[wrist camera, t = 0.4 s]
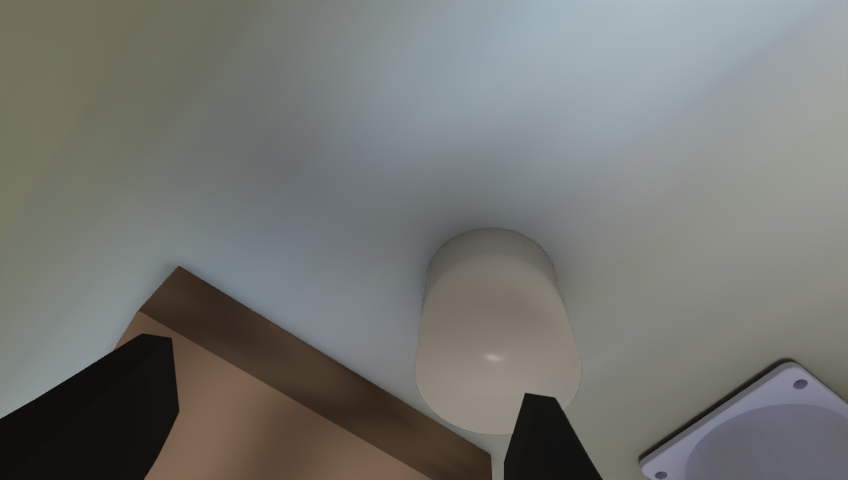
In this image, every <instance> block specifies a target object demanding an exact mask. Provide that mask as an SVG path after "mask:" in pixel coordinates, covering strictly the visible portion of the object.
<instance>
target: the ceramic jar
mask: <svg viewBox="0 0 848 480" xmlns="http://www.w3.org/2000/svg"><path fill="white" fill-rule="evenodd" d="M581 376H582V366H581V360H580V356H579V353H578V349H577V346H576V342H575V339H574V335H573V332H572V328H571V325H570V322H569V318H568V315H567V311H566V308H565V304H564V301H563V297H562V294H561V290H560V287H559V284H558V280H557V277H556V273H555V270H554V266H553V264H552V262H551V260H550V258H549V257H548V255H547V253H546V252H545V251H544V250H543V249H542V248H541V247H540V246H539V245H538V244H537V243H536V242H534V241H533V240H531V239H530V238H528V237H526V236H524V235H522V234H520V233H517V232H514V231H511V230H506V229H499V228H483V229H477V230H473V231H469V232H466V233H463V234H461V235H459V236H457V237H455V238H453V239H451V240H450V241H449V242H447V243H446V244H445V245H443V246H442V247H441V248H440V249H439V250H438V252H437V253H436V254H435V255H434V257H433V258H432V260H431V262H430V264H429V266H428V269H427V272H426V277H425V285H424V294H423V303H422V312H421V320H420V329H419V338H418V347H417V356H416V365H415V378H416V383H417V387H418V390H419V392H420V394H421V397H422V398H423V400H424V401H425V403H426V404H427V405H428V406H429V407H430V409H431V410H432V411H433V412H435V413H436V414H437V415H438V416H439V417H441V418H442V419H444V420H445V421H447V422H448V423H450V424H452V425H454V426H456V427H459V428H461V429H464V430H467V431H471V432H475V433H480V434H489V435H507V434H513V431H514V427H515V424H516V421H517V417H518V414H519V411H520V408H521V404H522V401H523V398H524V394H525V393H531V394H537V395H544V396H550V397H555V398H556V399H557V401H558V402H559V404H560V406H561V408H562V410H563V411H564V410H565V409H566V408H567V406H568V405H569V404H570V403H571V402H572V400H573V398H574V397H575V395H576V393H577V391H578V389H579V386H580V382H581Z"/></svg>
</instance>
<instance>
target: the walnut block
mask: <svg viewBox="0 0 848 480" xmlns="http://www.w3.org/2000/svg"><path fill="white" fill-rule="evenodd" d="M142 333H145V334H151V335H158V336H164V337H170V338H172V343H173V353H174V362H175V372H176V382H177V391H178V401H179V411H180V412H179V414H178V416H177V418H176V421H175V423H174V425H173V427H172V429H171V431H170V434H169V436H168V438H167V440H166V442H165V444H164V446H163V448H162V450H161V452H160V454H159V456H158V458H157V460H156V461H155V463H154V465H153V466H152V468H151V469H150V471H149V473H148V474H147V476H146V477H145V479H144V480H492V467H491V455H490V454H488V453H487V452H485V451H483V450H482V449H480V448H478V447H477V446H475V445H474V444H472V443H470V442H469V441H467V440H465V439H464V438H462V437H460V436H459V435H457V434H455V433H454V432H452V431H450V430H449V429H447V428H445V427H444V426H442V425H441V424H439V423H437V422H436V421H434V420H432V419H431V418H429V417H427V416H426V415H424V414H422V413H421V412H419V411H417V410H416V409H414V408H412V407H411V406H409V405H408V404H406V403H404V402H403V401H401V400H399V399H398V398H396V397H394V396H393V395H391V394H389V393H388V392H386V391H384V390H383V389H381V388H379V387H378V386H376V385H375V384H373V383H371V382H370V381H368V380H366V379H365V378H363V377H361V376H360V375H358V374H356V373H355V372H353V371H351V370H350V369H348V368H346V367H345V366H343V365H342V364H340V363H338V362H337V361H335V360H333V359H332V358H330V357H328V356H327V355H325V354H323V353H322V352H320V351H318V350H317V349H315V348H313V347H312V346H310V345H309V344H307V343H305V342H304V341H302V340H300V339H299V338H297V337H295V336H294V335H292V334H290V333H289V332H287V331H285V330H284V329H282V328H281V327H279V326H277V325H276V324H274V323H272V322H271V321H269V320H267V319H266V318H264V317H262V316H261V315H259V314H257V313H256V312H254V311H252V310H251V309H249V308H248V307H246V306H244V305H243V304H241V303H239V302H238V301H236V300H234V299H233V298H231V297H229V296H228V295H226V294H224V293H223V292H221V291H219V290H218V289H216V288H215V287H213V286H211V285H210V284H208V283H206V282H205V281H203V280H201V279H200V278H198V277H196V276H195V275H193V274H191V273H190V272H188V271H186V270H185V269H183V268H182V267H180V266H178V267H177V268H176V270H175V271H174V272H173V273H172V274H171V275H170V276H169V277H168V278H167V279H166V281H165V282H164V283H163V284H162V285H161V286H160V287H159V288H158V289H157V290H156V291H155V293H154V294H153V295H152V296H151V297H150V298H149V299H148V300H147V301H146V302H145V304H144V305H143V306H142V307H141V308H140V309H139V310H138V312H137V313H136V315H135V316H134V318H133V320H132V321H131V323H130V325H129V326H128V328H127V329H126V331H125V333H124V334H123V336H122V337H121V339H120V341H119V342H118V344H117V346H116V347H115V349H117V348H118V347H120V346H122V345H123V344H125V343H127V342H128V341H130V340H131V339H133V338H135V337H137V336H138V335H140V334H142ZM115 349H114V350H115ZM114 350H113V351H114Z"/></svg>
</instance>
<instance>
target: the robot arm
mask: <svg viewBox="0 0 848 480" xmlns="http://www.w3.org/2000/svg"><path fill="white" fill-rule="evenodd" d="M797 380H799V381H797ZM796 381H797V382H796ZM179 412H180V411H179V401H178V391H177V382H176V372H175V362H174V353H173V343H172V338H170V337H164V336H158V335H151V334H145V333H142V334H140V335H138V336H137V337H135V338H133V339H131V340H130V341H128V342H127V343H125V344H123V345H122V346H120V347H118V348H117V349H115V350H114V351H112V352H111V353H109V354H107V355H106V356H104V357H103V358H101V359H99V360H98V361H96V362H95V363H93V364H91V365H90V366H88V367H87V368H85V369H84V370H82V371H80V372H79V373H77V374H75V375H74V376H72V377H71V378H69V379H67V380H66V381H64V382H62V383H61V384H59V385H58V386H56V387H54V388H53V389H51V390H49V391H48V392H46V393H45V394H43V395H41V396H40V397H38V398H36V399H35V400H33V401H31V402H29V403H28V404H26V405H24V406H22V407H20V408H19V409H17V410H15V411H13V412H12V413H10V414H8V415H6V416H5V417H3V418H1V419H0V480H144V479H145V477H146V476H147V474H148V473H149V471H150V469H151V468H152V466H153V465H154V463H155V461H156V460H157V458H158V456H159V454H160V452H161V450H162V448H163V446H164V444H165V442H166V440H167V438H168V436H169V434H170V431H171V429H172V427H173V425H174V423H175V421H176V418H177V416H178V414H179ZM639 465H640V469H641V471H642V473H643V474H644V475H645V476H646V477H648V478H649V479H651V480H848V403H847V402H845V401H844V400H843V399H842V398H840V397H839V396H838V395H837V394H835V393H834V392H833V391H832V390H830V389H829V388H828V387H827V386H825V385H824V384H823V383H822V382H820V381H819V380H818V379H816V378H815V377H814V376H813V375H811V374H810V373H809V372H808V371H806V370H805V369H804V368H803V367H801V366H800V365H799V364H797V363H794V362H788V363H784V364H782V365H780V366H778V367H777V368H775V369H774V370H772V371H771V372H769V373H768V374H766V375H765V376H763V377H762V378H761V379H759V380H758V381H756V382H755V383H753V384H752V385H750V386H749V387H747V388H746V389H744V390H743V391H741V392H740V393H739V394H737V395H736V396H734V397H733V398H731V399H730V400H728V401H727V402H725V403H724V404H722V405H721V406H719V407H718V408H717V409H715V410H714V411H712V412H711V413H709V414H708V415H706V416H705V417H703V418H702V419H700V420H699V421H697V422H696V423H695V424H693V425H692V426H690V427H689V428H687V429H686V430H684V431H683V432H681V433H680V434H678V435H677V436H675V437H674V438H673V439H671V440H670V441H668V442H667V443H665V444H664V445H662V446H661V447H659V448H658V449H656V450H655V451H653V452H652V453H650V454H649V455H648V456H646V457H645V458H643V459H642V460H641V461H640V464H639ZM504 480H603V479H602V478H601V476H600V474H599V473H598V471H597V470H596V468H595V466H594V465H593V463H592V461H591V460H590V458H589V456H588V454H587V453H586V451H585V449H584V447H583V446H582V444H581V442H580V440H579V439H578V437H577V435H576V433H575V431H574V430H573V428H572V426H571V424H570V422H569V421H568V419H567V417H566V415H565V413H564V411H563V410H562V408H561V406H560V404H559V402H558V401H557V399H556V398H555V397H550V396H544V395H537V394H531V393H525V394H524V398H523V401H522V404H521V408H520V411H519V414H518V417H517V421H516V424H515V427H514V431H513V434H512V437H511V441H510V444H509V447H508V451H507V454H506V457H505V461H504Z"/></svg>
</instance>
